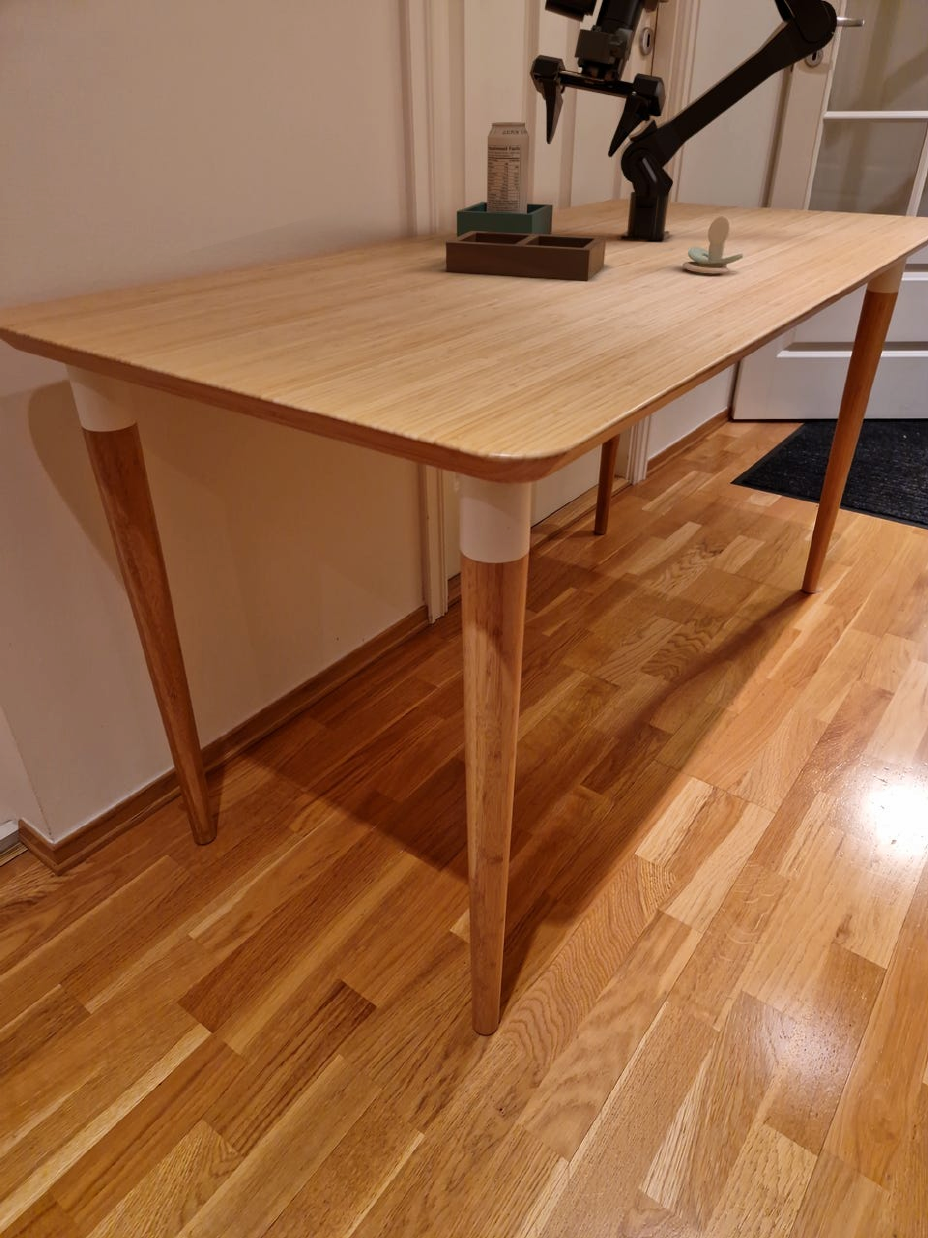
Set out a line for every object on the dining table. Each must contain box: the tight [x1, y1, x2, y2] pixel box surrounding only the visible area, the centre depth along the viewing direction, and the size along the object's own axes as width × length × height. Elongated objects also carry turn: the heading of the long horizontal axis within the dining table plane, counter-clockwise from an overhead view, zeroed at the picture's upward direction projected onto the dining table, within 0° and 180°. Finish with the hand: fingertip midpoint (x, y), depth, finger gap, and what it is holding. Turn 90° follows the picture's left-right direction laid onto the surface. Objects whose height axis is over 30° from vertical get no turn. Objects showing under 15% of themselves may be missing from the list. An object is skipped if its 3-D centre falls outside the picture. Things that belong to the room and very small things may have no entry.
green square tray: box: [456, 201, 554, 238], centre depth 127 cm, size 12×12×4 cm
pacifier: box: [681, 215, 744, 274], centre depth 106 cm, size 7×6×6 cm
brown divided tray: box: [445, 231, 607, 282], centre depth 108 cm, size 10×19×4 cm, turn 70°
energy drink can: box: [486, 121, 530, 214], centre depth 124 cm, size 6×6×15 cm
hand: (578, 149), depth 119 cm, fingers open, 9 cm apart
